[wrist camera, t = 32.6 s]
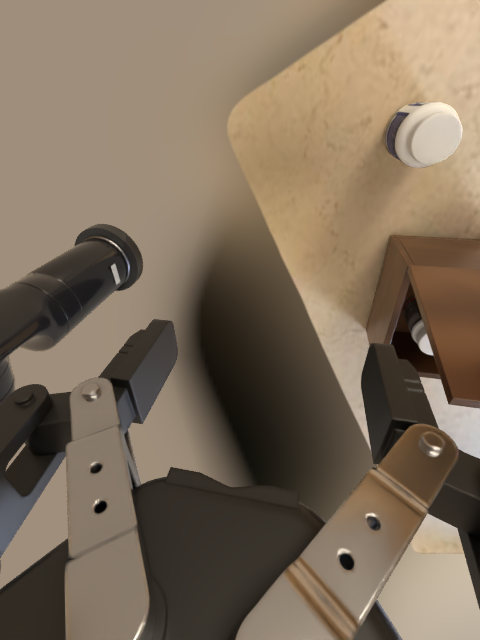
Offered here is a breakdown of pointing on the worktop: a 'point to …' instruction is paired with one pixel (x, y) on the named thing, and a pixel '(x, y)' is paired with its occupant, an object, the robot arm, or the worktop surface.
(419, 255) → the chest
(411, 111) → the pill bottle
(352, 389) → the worktop surface
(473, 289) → the lid
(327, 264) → the worktop surface
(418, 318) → the pill bottle
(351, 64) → the worktop surface
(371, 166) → the worktop surface
